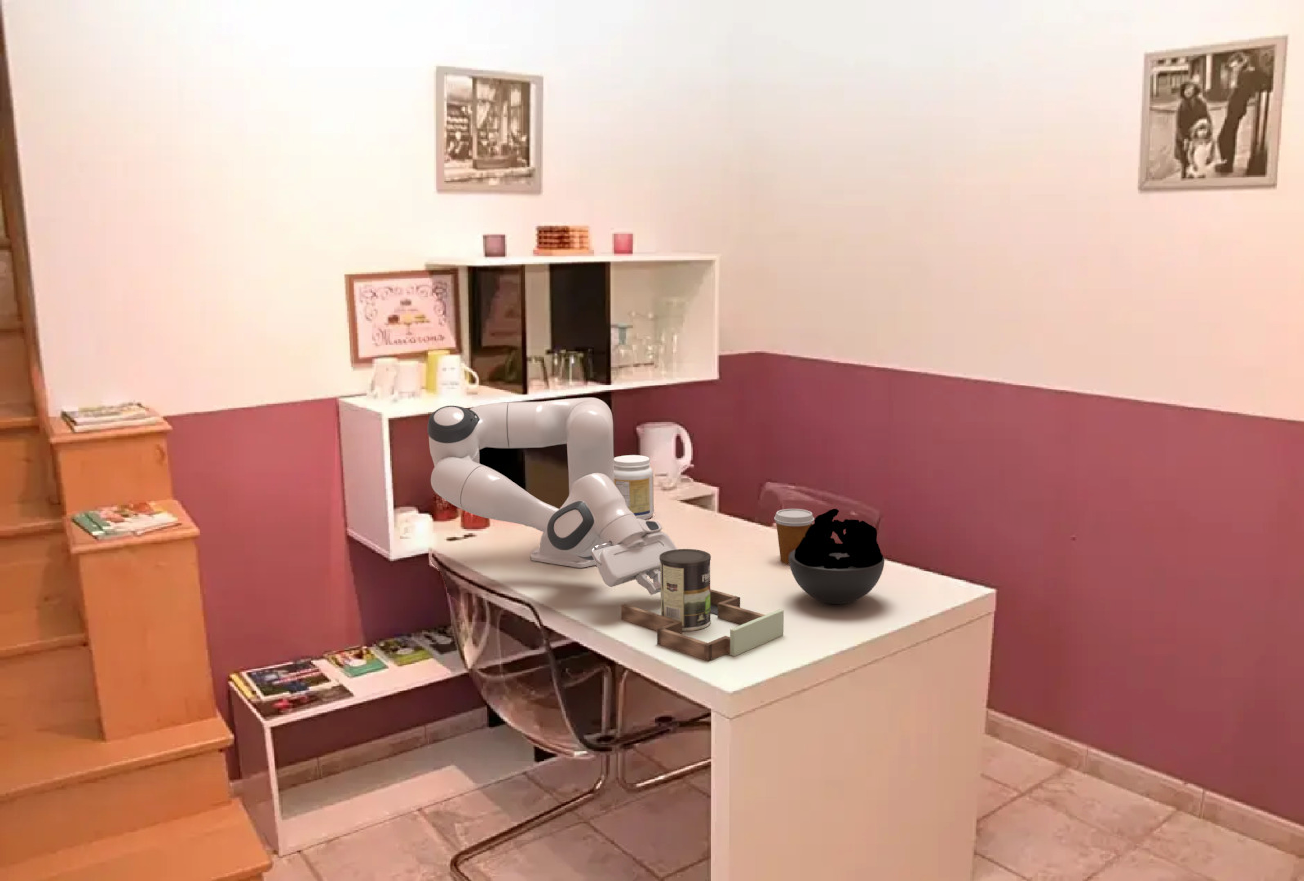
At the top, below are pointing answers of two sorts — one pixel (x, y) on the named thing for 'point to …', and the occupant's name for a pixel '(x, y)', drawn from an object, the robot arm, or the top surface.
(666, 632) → the trap lane
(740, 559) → the top surface
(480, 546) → the top surface
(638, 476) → the supplement tub
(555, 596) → the top surface
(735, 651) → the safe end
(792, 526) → the disposable coffee cup
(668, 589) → the coffee can
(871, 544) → the coal bowl
